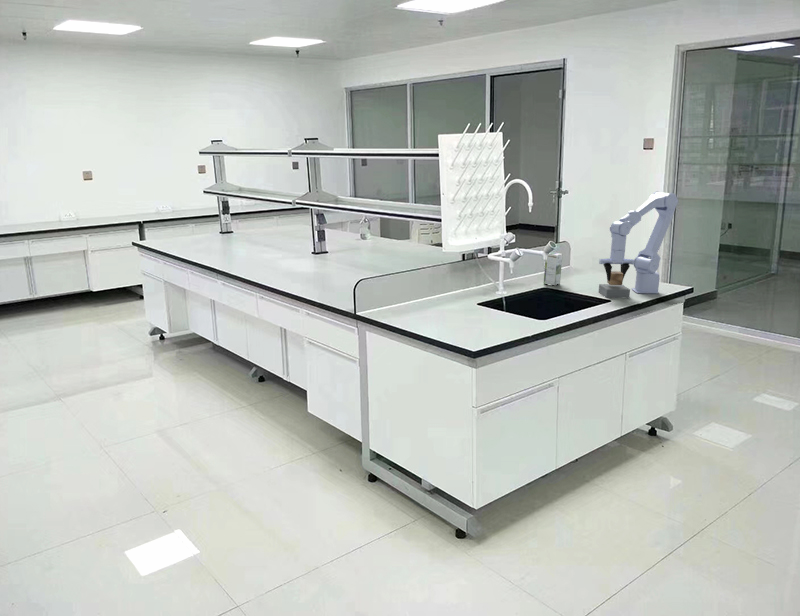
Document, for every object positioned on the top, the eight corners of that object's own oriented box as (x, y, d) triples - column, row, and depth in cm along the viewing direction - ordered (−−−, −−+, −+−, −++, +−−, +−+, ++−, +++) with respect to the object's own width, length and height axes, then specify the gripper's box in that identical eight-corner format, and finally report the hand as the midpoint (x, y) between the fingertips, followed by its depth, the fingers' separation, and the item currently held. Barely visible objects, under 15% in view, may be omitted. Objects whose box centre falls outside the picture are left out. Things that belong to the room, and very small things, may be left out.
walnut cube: (618, 282, 281) (619, 271, 279) (622, 285, 276) (623, 273, 274) (607, 282, 281) (608, 271, 279) (610, 285, 276) (611, 273, 275)
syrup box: (548, 282, 302) (551, 251, 299) (560, 284, 299) (562, 253, 295) (543, 284, 298) (545, 253, 294) (554, 286, 294) (557, 255, 291)
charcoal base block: (620, 293, 284) (621, 284, 283) (629, 298, 275) (630, 289, 274) (598, 293, 284) (599, 284, 283) (606, 298, 275) (606, 289, 273)
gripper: (632, 248, 278) (629, 278, 281) (598, 247, 278) (595, 278, 282) (637, 250, 271) (634, 282, 275) (602, 250, 271) (600, 281, 275)
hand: (615, 280), depth 278 cm, fingers closed on walnut cube, 5 cm apart
